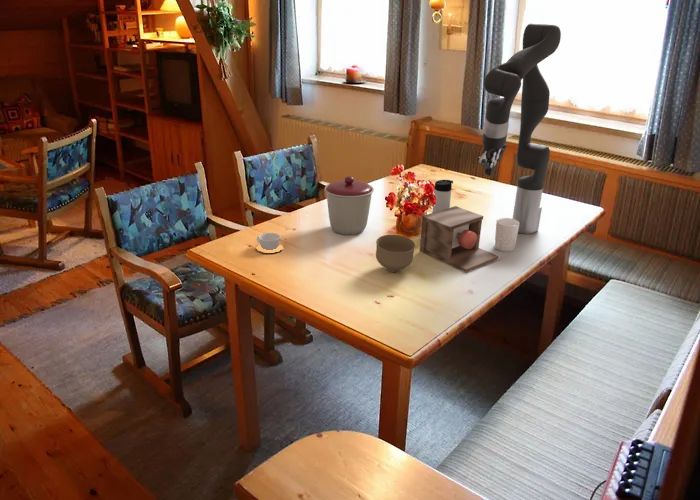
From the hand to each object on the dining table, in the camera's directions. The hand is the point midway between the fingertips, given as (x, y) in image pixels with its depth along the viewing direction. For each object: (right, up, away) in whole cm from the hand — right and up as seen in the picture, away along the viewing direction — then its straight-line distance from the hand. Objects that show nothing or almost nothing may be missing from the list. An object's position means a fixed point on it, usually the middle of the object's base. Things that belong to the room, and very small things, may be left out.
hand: (488, 173), depth 196 cm
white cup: (+8, -25, +12) cm, 29 cm away
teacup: (-75, -26, +7) cm, 79 cm away
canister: (-48, -18, +24) cm, 56 cm away
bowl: (-32, -32, -6) cm, 46 cm away
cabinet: (-9, -28, +5) cm, 29 cm away
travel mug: (-13, -19, +25) cm, 34 cm away
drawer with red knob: (-10, -24, +5) cm, 27 cm away
